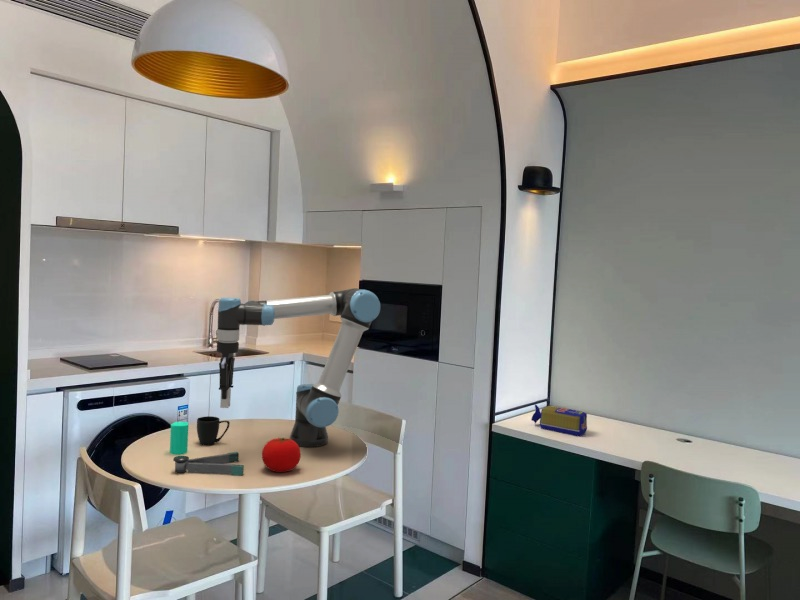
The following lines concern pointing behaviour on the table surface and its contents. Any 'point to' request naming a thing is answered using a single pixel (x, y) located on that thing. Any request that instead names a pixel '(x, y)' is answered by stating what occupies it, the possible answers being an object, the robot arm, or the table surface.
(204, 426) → the mug
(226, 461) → the bar
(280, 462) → the tomato
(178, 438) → the candle
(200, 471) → the tongs fixed
